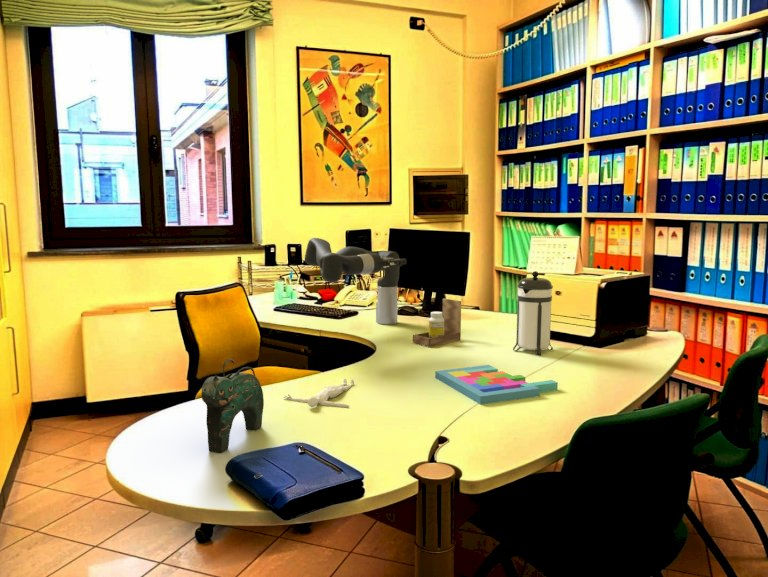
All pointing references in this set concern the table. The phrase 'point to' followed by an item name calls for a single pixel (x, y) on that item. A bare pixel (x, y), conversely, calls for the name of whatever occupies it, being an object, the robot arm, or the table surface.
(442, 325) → the pill bottle
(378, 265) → the robot arm
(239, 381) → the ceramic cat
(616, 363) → the table surface
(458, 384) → the tetris game
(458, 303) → the brown angle bracket
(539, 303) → the coffee press
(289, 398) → the figure model
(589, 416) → the table surface
